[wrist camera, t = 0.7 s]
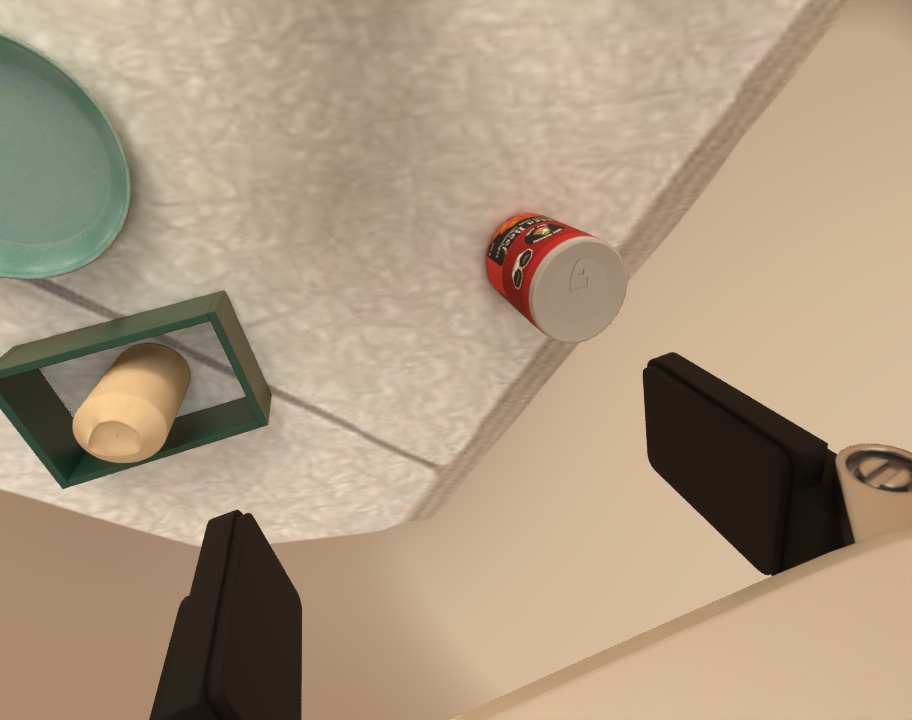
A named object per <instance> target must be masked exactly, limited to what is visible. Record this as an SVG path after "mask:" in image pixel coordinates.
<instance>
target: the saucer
mask: <svg viewBox="0 0 912 720" xmlns="http://www.w3.org/2000/svg"><path fill="white" fill-rule="evenodd" d="M130 198H131V182H130V172H129V167H128V163H127V159H126V155H125V152H124V149H123V147H122V143H121V141H120V139H119V137H118V134H117V132H116V130H115V128H114V127H113V125H112V123H111V121H110V120H109V118H108V117H107V115H106V114H105V112H104V111H103V109H102V108H101V107H100V105H99V104H98V103H97V101H96V100H95V99H94V98H93V97H92V95H91V94H90V93H89V92H88V91H87V90H86V89H85V88H84V87H83V86H82V85H81V84H80V83H79V82H78V81H77V80H76V79H75V78H74V77H73V76H72V75H71V74H70V73H69V72H67V71H66V70H65V69H64V68H63V67H61V66H60V65H59V64H57V63H56V62H55V61H54V60H52V59H51V58H49V57H48V56H46V55H45V54H43V53H42V52H40V51H39V50H37V49H35V48H33V47H31V46H30V45H28V44H26V43H24V42H22V41H21V40H18V39H16V38H14V37H12V36H10V35H8V34H5V33H3V32H0V277H2V278H10V279H44V278H51V277H56V276H60V275H64V274H67V273H70V272H73V271H75V270H77V269H79V268H82V267H84V266H86V265H88V264H89V263H91V262H93V261H94V260H95V259H97V258H98V257H99V256H100V255H102V254H103V253H104V252H105V251H106V250H107V249H108V248H109V247H110V246H111V244H112V243H113V242H114V240H115V239H116V238H117V236H118V235H119V233H120V231H121V230H122V227H123V226H124V223H125V220H126V217H127V214H128V211H129V206H130Z"/></svg>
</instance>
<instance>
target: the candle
mask: <svg viewBox="0 0 912 720" xmlns="http://www.w3.org/2000/svg"><path fill="white" fill-rule="evenodd" d="M189 382H190V371H189V367H188V365H187V363H186V362H185V360H184V359H183V358H182V357H181V356H180V355H179V354H178V353H177V352H175V351H174V350H172V349H170V348H168V347H165V346H162V345H158V344H141V345H137V346H134V347H131V348H129V349H128V350H126V351H125V352H123V353H122V354H121V355H120V356H119V357H118V359H117V360H116V361H115V362H114V363H113V365H112V366H111V367H110V369H109V370H108V371H107V373H106V374H105V375H104V376H103V378H102V379H101V380H100V382H99V383H98V384H97V386H96V387H95V388H94V389H93V391H92V392H91V393H90V395H89V396H88V397H87V399H86V400H85V401H84V403H83V404H82V405H81V406H80V408H79V409H78V410H77V412H76V414H75V416H74V419H73V424H72V426H73V433H74V436H75V438H76V440H77V441H78V443H79V444H80V445H81V447H82V448H84V449H85V450H86V451H87V452H88V453H90V454H92V455H93V456H95V457H97V458H100V459H102V460H105V461H109V462H115V463H132V462H138V461H141V460H144V459H147V458H149V457H151V456H152V455H154V454H155V453H156V452H158V451H159V450H160V449H161V447H162V446H163V444H164V443H165V440H166V438H167V436H168V433H169V431H170V429H171V426H172V424H173V422H174V419H175V417H176V415H177V412H178V410H179V407H180V405H181V403H182V400H183V398H184V396H185V393H186V391H187V388H188V386H189Z"/></svg>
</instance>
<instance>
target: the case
mask: <svg viewBox="0 0 912 720" xmlns="http://www.w3.org/2000/svg"><path fill="white" fill-rule="evenodd" d="M208 321H211V323H212V325H213V327H214V329H215V332H216V334H217V336H218V338H219V340H220V342H221V344H222V346H223V348H224V350H225V353H226V355H227V357H228V359H229V361H230V363H231V365H232V367H233V369H234V371H235V373H236V376H237V378H238V380H239V382H240V384H241V386H242V388H243V390H244V392H245V394H246V397H245V398H242V399H238V400H235V401H232V402H228V403H225V404H222V405H219V406H215V407H212V408H209V409H205V410H202V411H199V412H195V413H192V414H189V415H185V416H182V417H179V418H175V419H174V422H173V424H172V426H171V429H170V431H169V433H168V436H167V438H166V440H165V443H164V444H163V446H162V447H161V449H160V450H159V451H158V452H156V453H155V454H154V455H152V456H151V457H149V458H147V459H144V460H141V461H138V462H132V463H115V462H109V461H105V460H102V459H100V458H97V457H95V456H93V455H92V454H90V453H88V452H87V451H86V450H85V449H84V448H82V447H81V445H80V444H79V443H78V441H77V440H76V438H75V436H74V433H73V426H72V424H73V418H72V417H71V415H70V414H69V412H68V411H67V410H66V408H65V407H64V405H63V404H62V402H61V401H60V399H59V398H58V397H57V395H56V394H55V392H54V391H53V389H52V388H51V387H50V385H49V384H48V382H47V381H46V379H45V378H44V377H43V375H42V374H41V372H40V371H39V369H38V368H41V367H45V366H49V365H52V364H56V363H59V362H63V361H67V360H70V359H74V358H78V357H81V356H85V355H88V354H92V353H96V352H99V351H103V350H107V349H110V348H114V347H117V346H121V345H125V344H128V343H132V342H136V341H139V340H143V339H146V338H150V337H154V336H157V335H161V334H165V333H168V332H172V331H175V330H179V329H183V328H186V327H190V326H194V325H197V324H201V323H204V322H208ZM271 396H272V395H271V393H270V390H269V388H268V386H267V384H266V382H265V379H264V377H263V375H262V373H261V370H260V368H259V366H258V364H257V361H256V359H255V357H254V355H253V352H252V350H251V348H250V346H249V344H248V341H247V339H246V337H245V335H244V332H243V330H242V328H241V326H240V323H239V321H238V319H237V317H236V314H235V312H234V310H233V308H232V306H231V303H230V301H229V299H228V297H227V294H226V292H225V291H221V292H218V293H213V294H209V295H206V296H202V297H198V298H194V299H191V300H187V301H183V302H180V303H176V304H172V305H168V306H165V307H161V308H157V309H153V310H150V311H146V312H142V313H139V314H135V315H131V316H127V317H124V318H120V319H116V320H112V321H109V322H105V323H101V324H98V325H94V326H90V327H86V328H83V329H79V330H75V331H71V332H68V333H64V334H60V335H57V336H53V337H49V338H45V339H42V340H38V341H34V342H30V343H27V344H23V345H19V346H16V347H13V348H12V349H11V350H9V351H8V352H7V353H6V354H4V355H3V356H2V357H0V409H1V410H2V411H3V413H4V414H5V415H6V417H7V418H8V419H9V420H10V422H11V423H12V424H13V426H14V427H15V428H16V429H17V431H18V432H19V433H20V435H21V436H22V437H23V438H24V440H25V441H26V442H27V444H28V445H29V446H30V447H31V449H32V450H33V451H34V453H35V454H36V455H37V456H38V458H39V459H40V460H41V462H42V463H43V464H44V466H45V467H46V468H47V469H48V471H49V472H50V473H51V475H52V476H53V477H54V478H55V480H56V481H57V482H58V484H59V485H60V486H61V487H62V489H65V488H68V487H70V486H74V485H77V484H81V483H84V482H87V481H90V480H93V479H97V478H100V477H103V476H106V475H109V474H113V473H116V472H119V471H122V470H125V469H129V468H132V467H135V466H138V465H142V464H145V463H148V462H151V461H154V460H158V459H161V458H164V457H167V456H170V455H174V454H177V453H180V452H183V451H186V450H190V449H193V448H196V447H199V446H203V445H206V444H209V443H212V442H215V441H219V440H222V439H225V438H228V437H231V436H235V435H238V434H241V433H244V432H247V431H251V430H254V429H257V428H260V427H264V426H267V425H268V422H269V413H270V405H271Z"/></svg>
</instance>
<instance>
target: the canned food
mask: <svg viewBox="0 0 912 720" xmlns="http://www.w3.org/2000/svg"><path fill="white" fill-rule="evenodd" d="M486 264H487V271H488V276H489V279H490V281H491V283H492V285H493V286H494V288H495V289H496V290H497V291H498V292H499V293H500V294H501V295H502V296H503V297H504V298H505V299H506V300H507V301H508V302H509V303H510V304H511V305H513V306H514V307H515V308H516V309H517V310H518V311H519V312H520V313H521V314H522V315H523V316H525V317H526V318H527V319H528V320H529V321H530V322H531V323H532V324H533V325H534V326H535V327H537V328H538V329H539V330H540V331H541V332H542V333H544V334H545V335H547V336H548V337H550V338H552V339H553V340H556V341H559V342H561V343H579V342H583V341H586V340H589V339H590V338H593V337H595V336H596V335H598V334H599V333H601V332H602V331H603V330H604V329H605V328H606V327H607V326H608V325H609V324H610V323H611V322H612V321H613V320H614V318H615V317H616V315H617V314H618V312H619V310H620V308H621V306H622V304H623V301H624V298H625V295H626V289H627V272H626V267H625V264H624V262H623V259H622V257H621V256H620V254H619V253H618V252H617V250H616V249H614V248H613V247H612V246H611V245H610V244H608V243H607V242H605V241H603V240H601V239H599V238H597V237H594V236H592V235H590V234H588V233H585V232H583V231H580V230H578V229H575V228H573V227H570V226H568V225H565V224H563V223H560V222H558V221H555V220H553V219H550V218H548V217H545V216H543V215H538V214H524V215H520V216H517V217H514V218H512V219H510V220H508V221H507V222H506V223H504V224H503V225H502V226H501V227H500V228H499V229H498V230H497V231H496V233H495V234H494V236H493V237H492V239H491V241H490V244H489V246H488V251H487V257H486Z"/></svg>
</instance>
